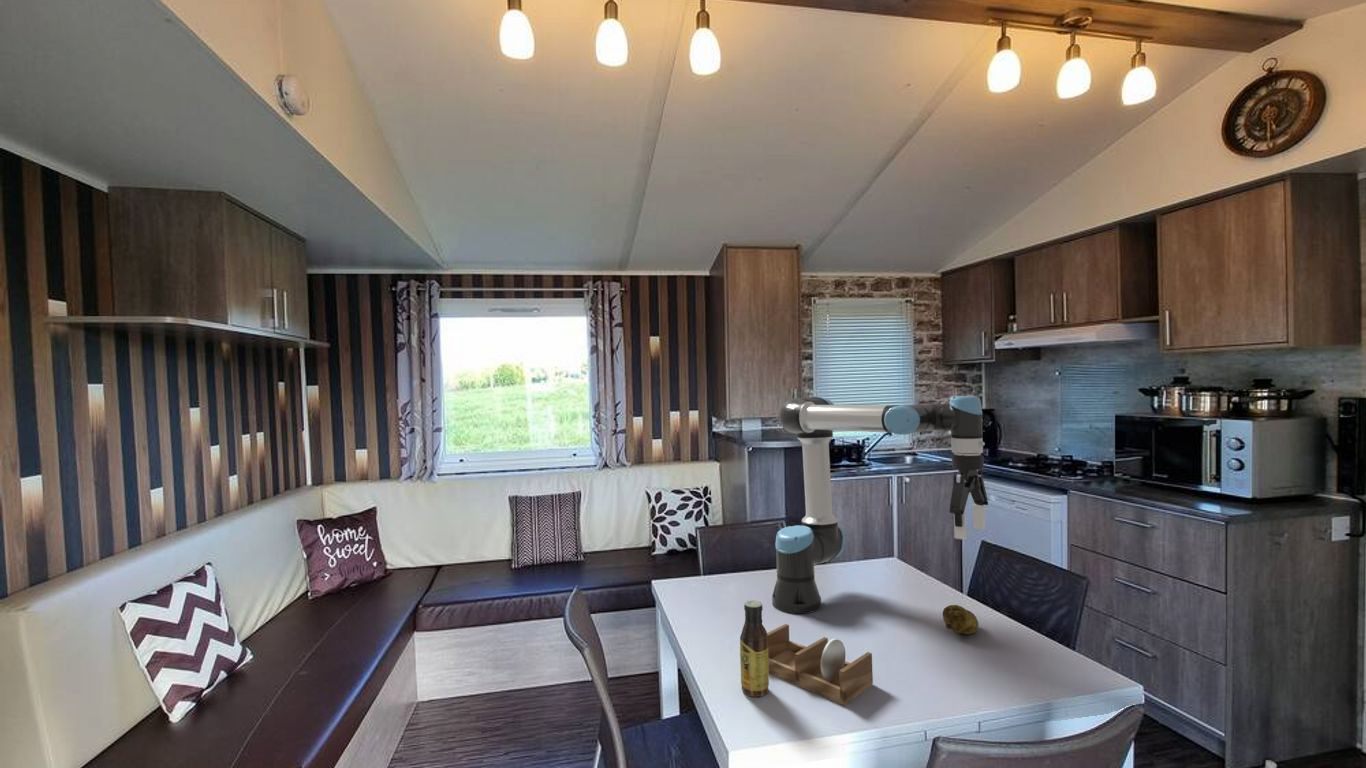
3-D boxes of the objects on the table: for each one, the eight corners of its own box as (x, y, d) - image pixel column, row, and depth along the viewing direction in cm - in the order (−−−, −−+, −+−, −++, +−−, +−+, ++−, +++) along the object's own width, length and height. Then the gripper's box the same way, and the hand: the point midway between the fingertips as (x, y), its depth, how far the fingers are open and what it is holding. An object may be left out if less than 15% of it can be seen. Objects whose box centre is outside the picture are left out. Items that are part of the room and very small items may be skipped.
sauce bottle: (738, 685, 129) (736, 598, 129) (765, 683, 130) (762, 596, 130) (744, 700, 123) (741, 608, 123) (772, 698, 123) (769, 607, 123)
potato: (992, 634, 151) (991, 604, 152) (958, 644, 146) (957, 613, 146) (965, 623, 159) (964, 594, 159) (932, 632, 154) (931, 602, 154)
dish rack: (756, 667, 137) (755, 626, 137) (786, 651, 145) (785, 612, 145) (844, 705, 119) (842, 658, 120) (872, 684, 128) (871, 639, 128)
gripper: (964, 459, 139) (967, 545, 138) (998, 450, 156) (1001, 527, 156) (933, 457, 144) (936, 540, 144) (970, 448, 161) (972, 523, 161)
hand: (970, 533), depth 150 cm, fingers open, 13 cm apart
